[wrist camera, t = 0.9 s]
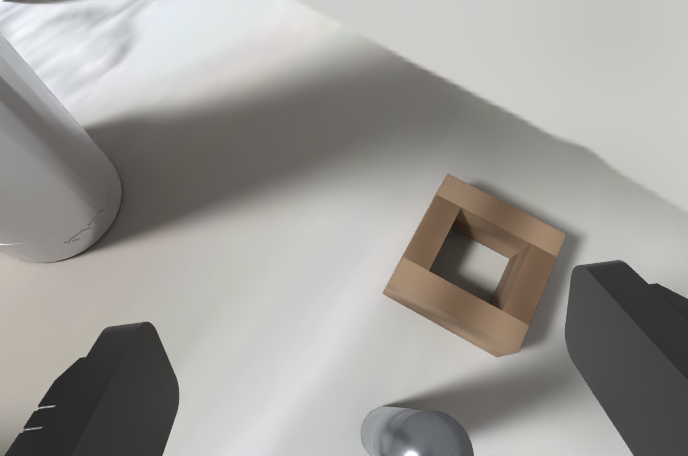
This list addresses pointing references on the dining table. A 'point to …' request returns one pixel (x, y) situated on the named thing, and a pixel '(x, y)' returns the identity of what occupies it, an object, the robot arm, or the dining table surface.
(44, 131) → the robot arm
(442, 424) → the rod
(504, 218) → the wooden square socket block
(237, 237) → the dining table surface
